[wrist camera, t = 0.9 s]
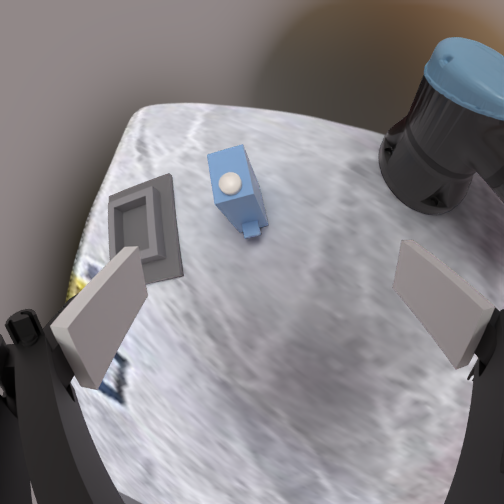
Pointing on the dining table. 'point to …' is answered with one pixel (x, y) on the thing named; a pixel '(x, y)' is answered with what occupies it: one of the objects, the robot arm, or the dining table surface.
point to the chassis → (147, 227)
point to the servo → (237, 190)
